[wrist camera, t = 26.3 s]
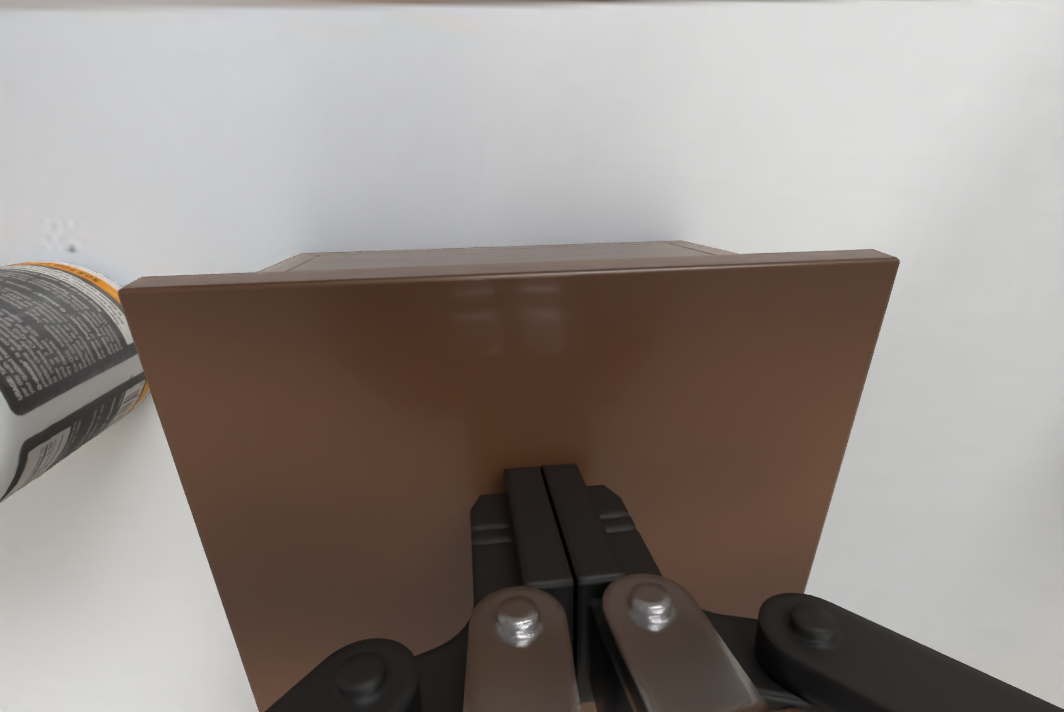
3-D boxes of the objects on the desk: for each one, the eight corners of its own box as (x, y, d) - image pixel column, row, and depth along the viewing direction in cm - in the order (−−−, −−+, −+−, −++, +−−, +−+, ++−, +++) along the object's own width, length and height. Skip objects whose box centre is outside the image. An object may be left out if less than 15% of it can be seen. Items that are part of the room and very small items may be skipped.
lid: (139, 275, 9) (113, 290, 9) (873, 248, 11) (903, 258, 10) (308, 810, 16) (302, 843, 15) (741, 745, 18) (753, 771, 17)
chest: (299, 253, 19) (206, 292, 12) (682, 240, 20) (800, 267, 13) (353, 624, 23) (309, 809, 16) (661, 589, 25) (740, 744, 18)
